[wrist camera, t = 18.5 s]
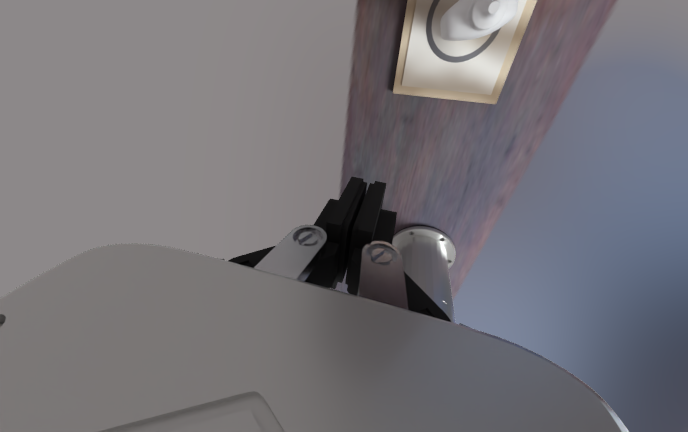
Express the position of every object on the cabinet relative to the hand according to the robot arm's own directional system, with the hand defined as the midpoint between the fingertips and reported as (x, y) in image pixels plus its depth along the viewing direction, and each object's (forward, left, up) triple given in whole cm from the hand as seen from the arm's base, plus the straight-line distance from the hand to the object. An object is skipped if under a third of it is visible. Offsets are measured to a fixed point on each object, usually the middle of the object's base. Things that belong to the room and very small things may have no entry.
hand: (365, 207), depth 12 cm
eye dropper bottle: (+5, -9, -27) cm, 29 cm away
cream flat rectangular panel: (+5, -9, -28) cm, 30 cm away
